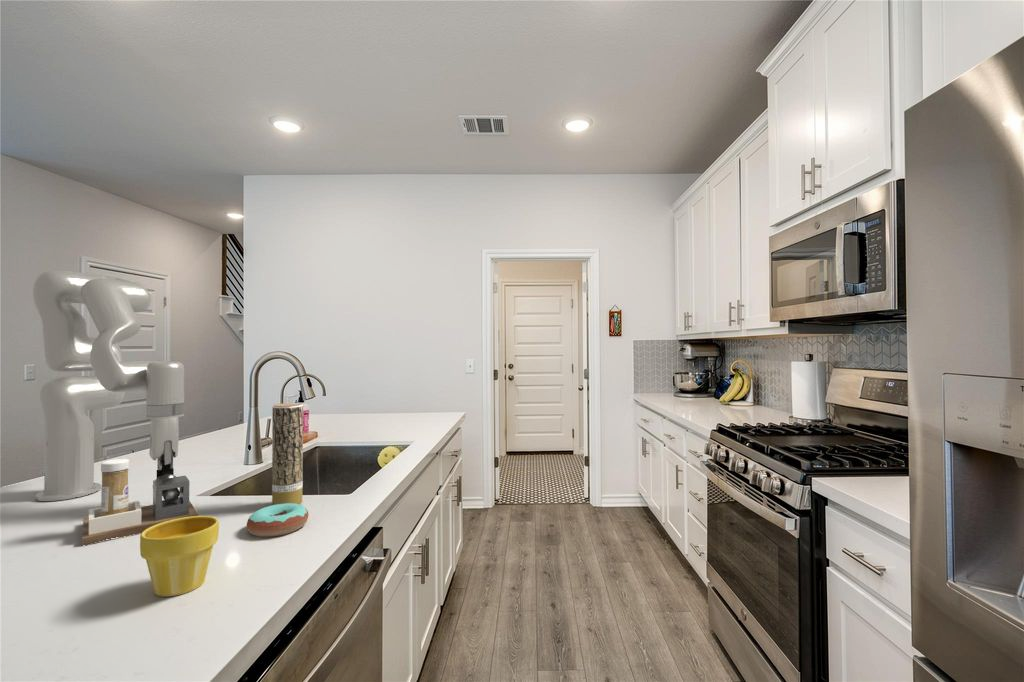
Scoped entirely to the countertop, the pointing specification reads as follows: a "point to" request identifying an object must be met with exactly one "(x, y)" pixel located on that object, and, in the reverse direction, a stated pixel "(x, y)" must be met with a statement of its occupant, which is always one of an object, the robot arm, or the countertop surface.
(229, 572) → the countertop surface
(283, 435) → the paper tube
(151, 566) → the plant pot
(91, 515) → the socket
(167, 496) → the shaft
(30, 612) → the countertop surface
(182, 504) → the bearing block
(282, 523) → the donut
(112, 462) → the sprinkles bottle
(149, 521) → the walnut board
